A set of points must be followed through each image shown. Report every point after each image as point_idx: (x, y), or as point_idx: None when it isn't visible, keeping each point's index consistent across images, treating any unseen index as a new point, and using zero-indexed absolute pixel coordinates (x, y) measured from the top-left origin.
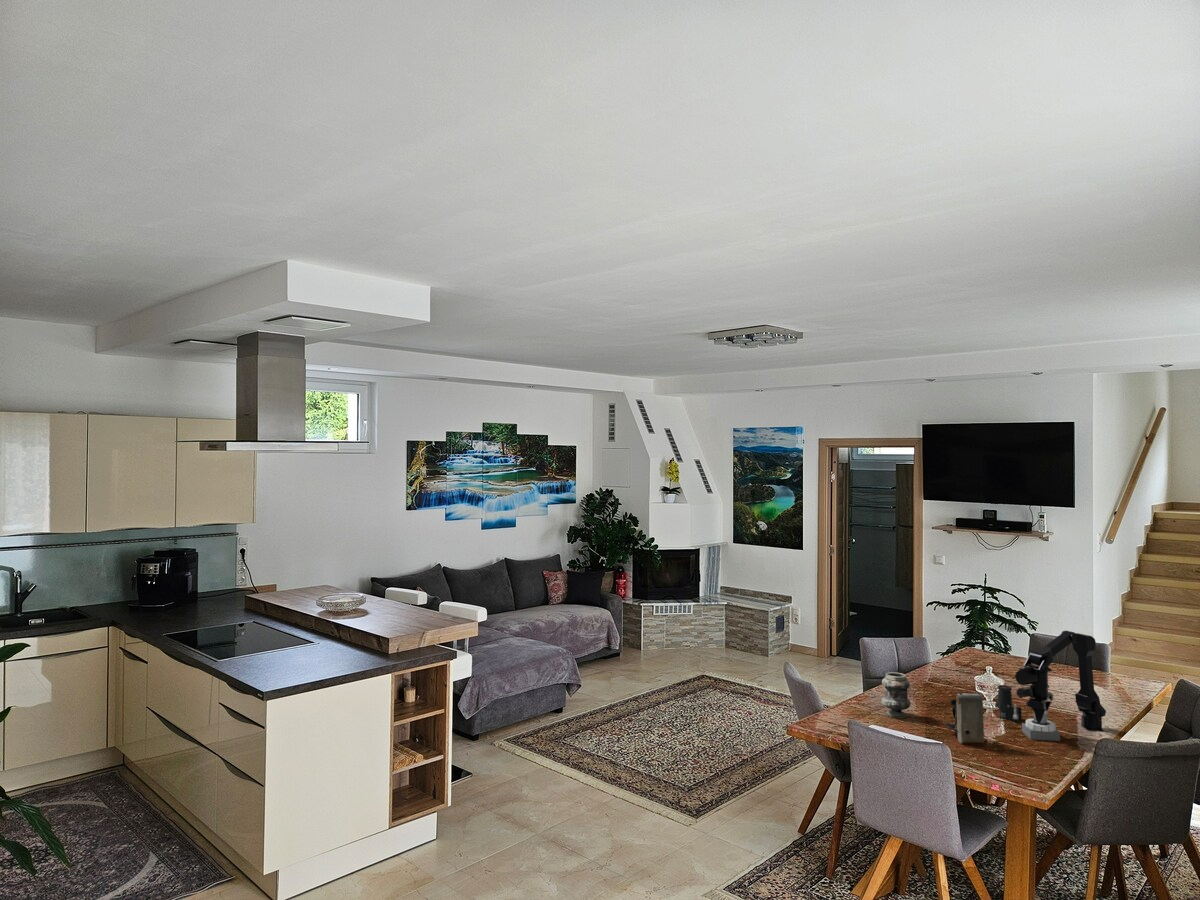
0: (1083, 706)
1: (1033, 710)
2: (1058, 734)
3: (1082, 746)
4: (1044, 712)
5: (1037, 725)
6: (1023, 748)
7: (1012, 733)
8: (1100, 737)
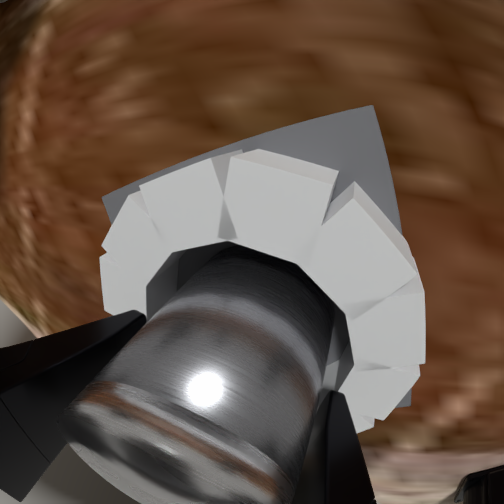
0: None
1: (126, 410)
2: None
3: None
4: (50, 450)
5: (108, 286)
6: (20, 151)
7: (244, 28)
8: (375, 492)
